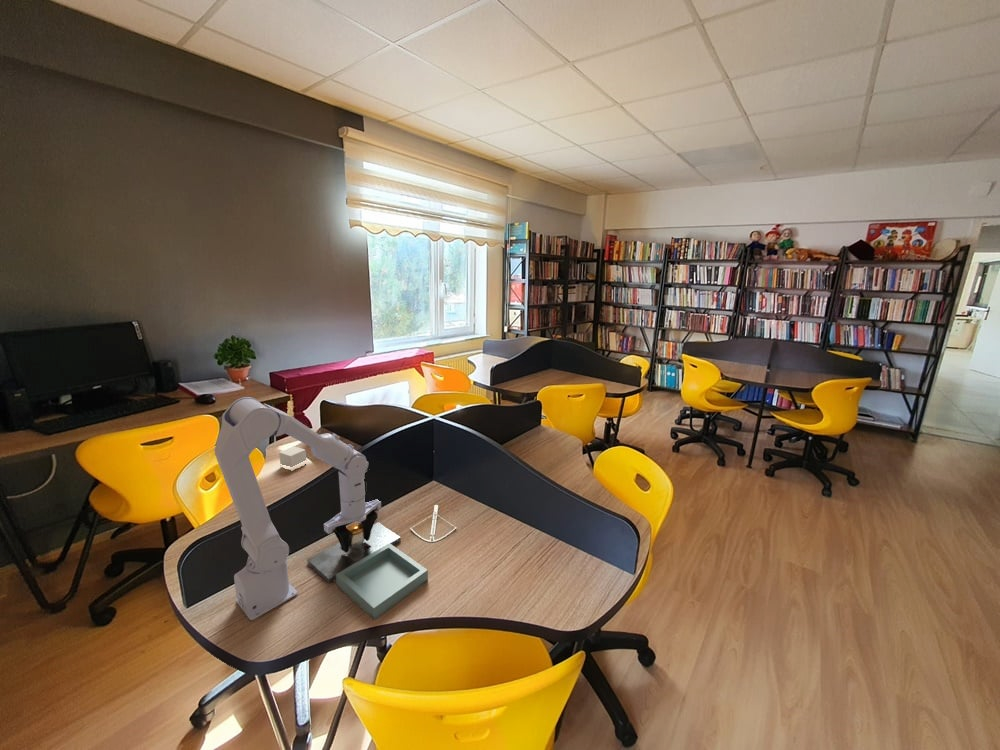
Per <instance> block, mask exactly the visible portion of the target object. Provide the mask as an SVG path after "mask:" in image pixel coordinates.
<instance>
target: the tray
mask: <svg viewBox="0 0 1000 750" xmlns="http://www.w3.org/2000/svg"><path fill="white" fill-rule="evenodd" d="M428 574H429V569H427V568H426V567H424V566H423V565H422V564H420V563H418V562H417V561H416V560H415V559H413V558H411V557H410V556H408V554H406V553H404V552H402V551H401V550H400V549H399V548H397V547H396V546H395V545H391V544H390V543H389V544H387V545H385V546H384V547H382V548H380V549H378V550H377V551H375V552H373V553H372V554H370V555H368V556H366V557H365V558H363V559H361V560H360V561H358V562H356V563H354V564H353V565H351V566H349V567H348V568H346V569H344V570H342V571H341V572H339V573H337V574H336V580H335V581H336V586H337V588H339V589H340V590H341V592H343V593H344V594H345V595H346V596H347V597H349V598H350V600H352V601H353V602H354V603H355V604H356V605H357V606H358V607H359V608H361V610H363V612H365V613H366V614H367V615H369V617H371V618H372V620H373V621H375V620H377V619H378V618H380V617H382V615H384V614H385V613H386V612H388V611H389V610H390V609H392V608H393V607H394V606H396V605H397V604H399V603H400V602H401V601H403V600H404V599H405V598H407V597H408V596H410V595H411V594H412V593H413V592H416V590H418V589H419V588H420V587H422V586H423V585H425V584H426V583H427V582H428V581H429V575H428Z"/></svg>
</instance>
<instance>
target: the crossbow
mask: <svg viewBox="0 0 1000 750" xmlns="http://www.w3.org/2000/svg"><path fill="white" fill-rule="evenodd" d="M438 513H439V505H438V504H435V505H433V514H432V515H430V516H428V517H427V518H425V519H424V520H422V521H420V522H418V523H417V524H415V525H413V526H412V527H410V528H409V529H410V530H409V531H410V532H412V533H413V534H414V535H415V536H416V537H418V538H419V539H420V540H423V541H424V542H427V543H436V542H439V541H441V540H443V539H445V538H446V537H448V536H450V535H451V534H452V533H454V532H455V531H457V527H456V526H455V525H453V524H451V523H450V522H449V521H447V520H446V519H444V518H443V517H441V516H440V515H439V514H438ZM430 517H432V520H431V521H432V523H431V528H430V529H431V530H430V535H429V536H430V537H429V539H427V538H424V537H422V536H421V535H419V534H418V533H417V532H416V531H415V530H414V529H413V528H414V527H416V526H417V525H419V524H421V523H422V522H424V521H426V520H427V519H429V518H430ZM438 517H439V518H441V519H442V520H444V521H445V522H447V523H448V524H450V525H451V526H453V527H454V528H453V529H452V530H451V531H449V532H448V533H447V534H445V535H444V536H442V537H439V538H438V539H435V536H436V528H437V519H438Z"/></svg>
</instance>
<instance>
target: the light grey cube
mask: <svg viewBox="0 0 1000 750" xmlns="http://www.w3.org/2000/svg"><path fill="white" fill-rule="evenodd" d="M278 454H279V463H280V464H282V465H286V466H290V467H293V466H295V465H297V464H299V463H301V462H303V461H305V460H306V461H307V453H306V449H304V448H301V447H298V446H295V445H294V446H291V447H289V448H287V449H283V450H282V451H281V450H280V451H279V452H278Z"/></svg>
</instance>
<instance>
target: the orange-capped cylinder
mask: <svg viewBox="0 0 1000 750" xmlns="http://www.w3.org/2000/svg"><path fill="white" fill-rule="evenodd" d="M346 528H347V529H348V530H350V533H349V540H348V542H349V551H348V552H347V554H348V555H349V556H350V557H351V558H353V557H355V556H357V555H359V554H360V553H362V552H364V551H365V546H364V532H363V525H362V524H361V522H352V523H349V525H347V526H346Z"/></svg>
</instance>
